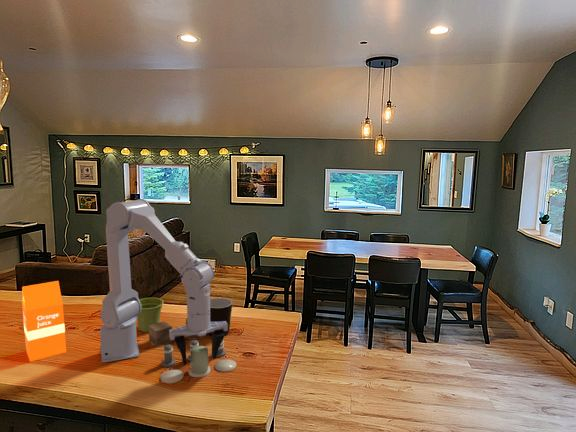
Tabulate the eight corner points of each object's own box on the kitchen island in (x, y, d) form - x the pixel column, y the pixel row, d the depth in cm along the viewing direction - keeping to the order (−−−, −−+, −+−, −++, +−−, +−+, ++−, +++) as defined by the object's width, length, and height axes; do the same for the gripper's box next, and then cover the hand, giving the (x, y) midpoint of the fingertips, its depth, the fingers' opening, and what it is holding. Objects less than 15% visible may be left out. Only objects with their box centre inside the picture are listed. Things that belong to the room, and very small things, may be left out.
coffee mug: (226, 340, 120) (226, 309, 118) (200, 337, 122) (200, 306, 120) (239, 324, 131) (239, 296, 130) (214, 321, 133) (214, 293, 131)
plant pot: (167, 322, 132) (166, 297, 130) (159, 335, 123) (158, 308, 121) (139, 322, 132) (138, 297, 130) (129, 334, 122) (127, 308, 121)
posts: (162, 368, 104) (161, 350, 103) (160, 361, 107) (160, 344, 106) (227, 355, 111) (227, 339, 110) (224, 349, 114) (223, 333, 113)
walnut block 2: (188, 339, 120) (188, 324, 119) (186, 333, 124) (185, 318, 124) (205, 337, 122) (205, 321, 121) (201, 330, 126) (201, 315, 126)
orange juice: (25, 350, 111) (19, 283, 108) (61, 341, 117) (56, 277, 114) (29, 362, 105) (23, 290, 102) (66, 352, 111) (61, 284, 108)
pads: (161, 385, 96) (161, 383, 96) (159, 373, 101) (159, 372, 101) (238, 369, 104) (238, 367, 104) (233, 359, 109) (233, 357, 109)
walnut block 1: (156, 347, 115) (156, 331, 114) (149, 341, 119) (148, 325, 118) (172, 341, 118) (171, 326, 118) (164, 336, 122) (164, 321, 121)
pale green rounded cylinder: (193, 375, 100) (192, 355, 99) (189, 367, 104) (188, 347, 103) (210, 372, 102) (209, 352, 101) (205, 363, 106) (205, 344, 105)
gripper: (171, 320, 93) (172, 373, 96) (230, 312, 99) (230, 362, 101) (167, 310, 100) (169, 359, 102) (223, 302, 106) (223, 349, 108)
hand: (199, 360), depth 102 cm, fingers open, 7 cm apart
